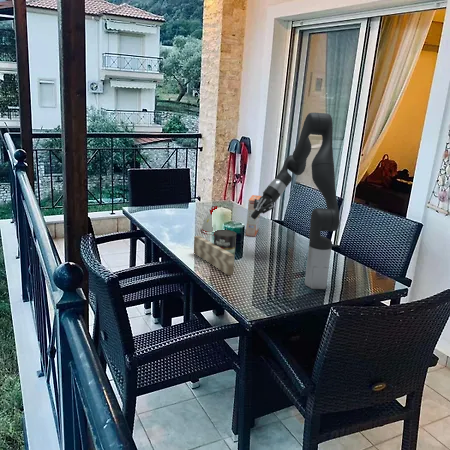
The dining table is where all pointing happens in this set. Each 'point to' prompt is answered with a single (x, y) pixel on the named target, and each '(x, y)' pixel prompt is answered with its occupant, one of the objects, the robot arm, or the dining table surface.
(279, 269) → the dining table surface
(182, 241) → the dining table surface
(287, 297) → the dining table surface
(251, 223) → the cracker box
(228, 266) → the birch board
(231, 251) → the coffee can
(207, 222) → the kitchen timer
